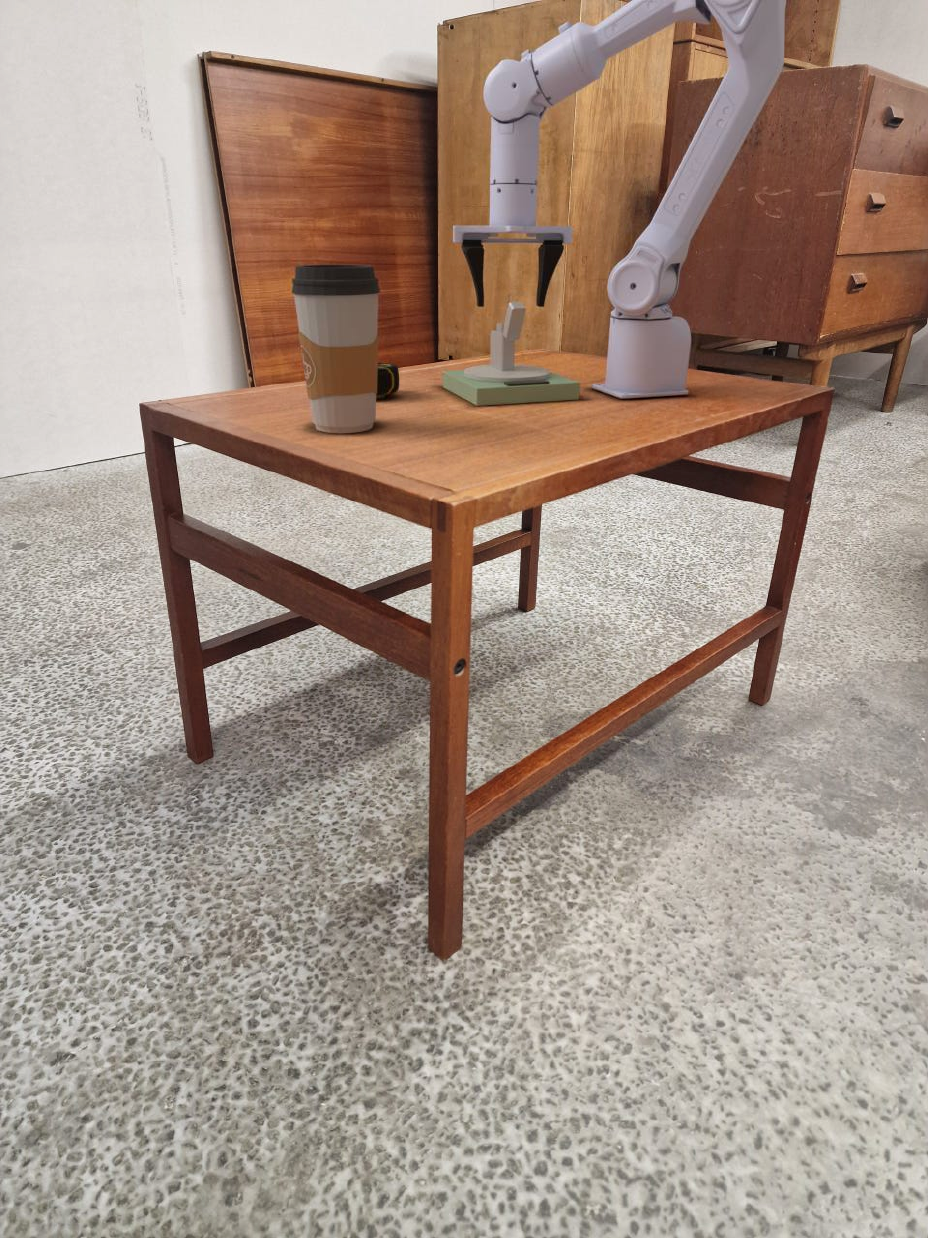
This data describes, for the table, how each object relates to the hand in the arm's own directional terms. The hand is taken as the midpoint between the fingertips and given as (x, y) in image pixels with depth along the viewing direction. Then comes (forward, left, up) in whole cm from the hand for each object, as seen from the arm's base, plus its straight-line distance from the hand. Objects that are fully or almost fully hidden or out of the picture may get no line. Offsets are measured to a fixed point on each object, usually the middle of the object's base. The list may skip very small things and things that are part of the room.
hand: (510, 306), depth 102 cm
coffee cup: (+26, +20, -10) cm, 34 cm away
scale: (+3, +8, -9) cm, 12 cm away
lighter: (+3, +7, -7) cm, 10 cm away
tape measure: (+20, +4, -10) cm, 23 cm away
